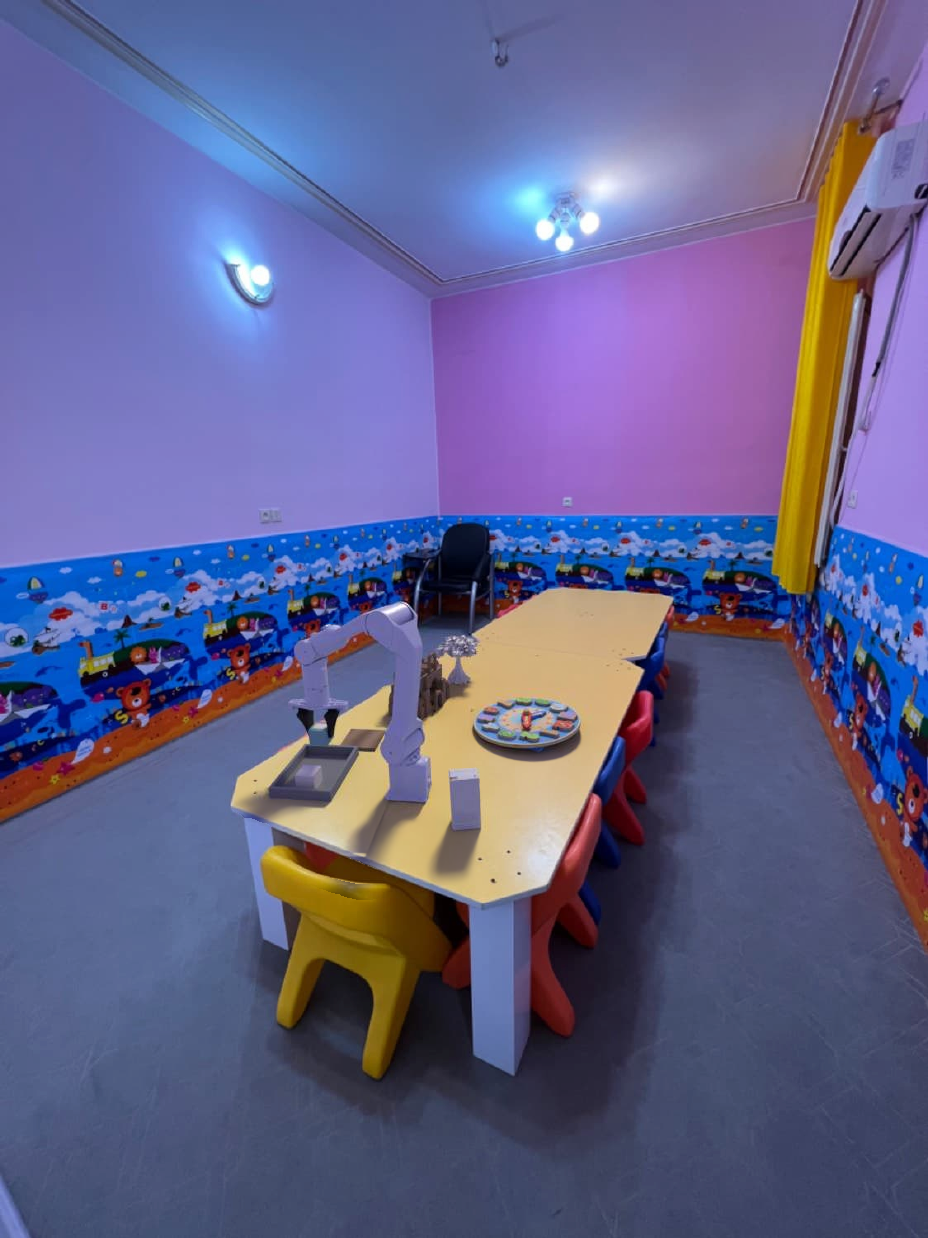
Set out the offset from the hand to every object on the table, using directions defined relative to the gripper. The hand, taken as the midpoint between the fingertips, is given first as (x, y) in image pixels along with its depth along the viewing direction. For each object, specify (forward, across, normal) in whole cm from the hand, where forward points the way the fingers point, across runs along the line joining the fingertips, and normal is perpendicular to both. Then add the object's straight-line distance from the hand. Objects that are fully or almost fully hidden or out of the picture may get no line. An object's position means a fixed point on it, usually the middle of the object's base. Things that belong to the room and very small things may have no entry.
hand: (321, 735), depth 121 cm
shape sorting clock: (+9, -51, -24) cm, 57 cm away
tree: (+9, -27, -58) cm, 65 cm away
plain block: (+8, 0, +9) cm, 12 cm away
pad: (+9, -6, -12) cm, 16 cm away
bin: (+9, 0, +4) cm, 10 cm away
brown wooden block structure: (+9, -17, -37) cm, 42 cm away
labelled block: (+1, 0, 0) cm, 1 cm away
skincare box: (+9, -38, +18) cm, 43 cm away
